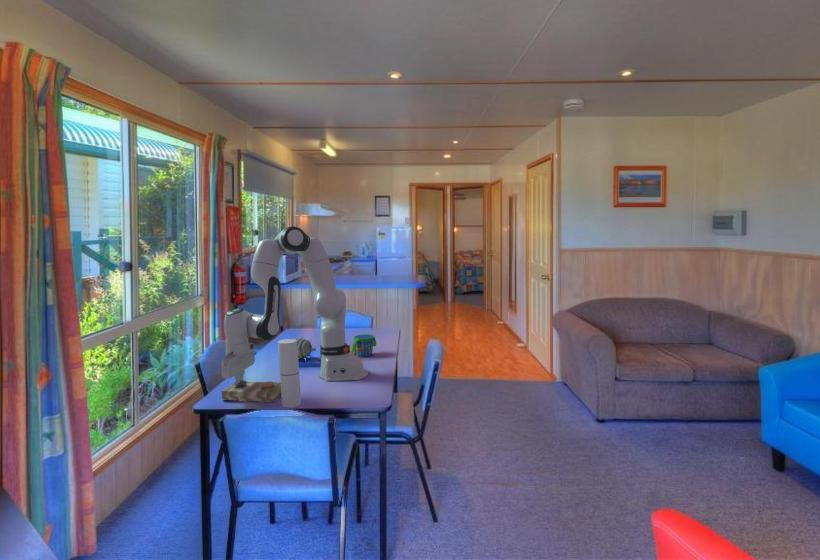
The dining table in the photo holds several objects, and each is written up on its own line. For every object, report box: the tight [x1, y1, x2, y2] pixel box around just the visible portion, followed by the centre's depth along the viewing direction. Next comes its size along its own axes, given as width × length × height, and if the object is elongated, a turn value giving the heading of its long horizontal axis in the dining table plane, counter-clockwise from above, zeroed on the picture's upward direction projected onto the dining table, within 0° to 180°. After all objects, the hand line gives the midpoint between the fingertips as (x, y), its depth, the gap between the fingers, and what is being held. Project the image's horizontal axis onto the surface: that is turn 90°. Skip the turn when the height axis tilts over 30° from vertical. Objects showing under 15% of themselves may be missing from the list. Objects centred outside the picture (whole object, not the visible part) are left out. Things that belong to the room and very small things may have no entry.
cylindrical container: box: [277, 338, 302, 408], centre depth 196 cm, size 7×7×25 cm
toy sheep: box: [295, 338, 317, 359], centre depth 259 cm, size 11×17×11 cm, turn 76°
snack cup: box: [351, 333, 377, 358], centre depth 263 cm, size 16×10×10 cm
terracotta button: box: [262, 381, 275, 389], centre depth 206 cm, size 5×5×4 cm
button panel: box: [221, 381, 282, 403], centre depth 207 cm, size 22×12×4 cm, turn 79°
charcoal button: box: [233, 379, 248, 388], centre depth 208 cm, size 5×5×4 cm
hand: (239, 381), depth 208 cm, fingers closed
